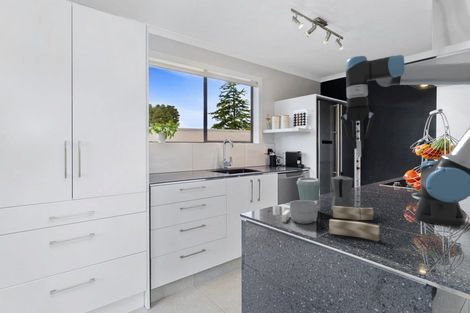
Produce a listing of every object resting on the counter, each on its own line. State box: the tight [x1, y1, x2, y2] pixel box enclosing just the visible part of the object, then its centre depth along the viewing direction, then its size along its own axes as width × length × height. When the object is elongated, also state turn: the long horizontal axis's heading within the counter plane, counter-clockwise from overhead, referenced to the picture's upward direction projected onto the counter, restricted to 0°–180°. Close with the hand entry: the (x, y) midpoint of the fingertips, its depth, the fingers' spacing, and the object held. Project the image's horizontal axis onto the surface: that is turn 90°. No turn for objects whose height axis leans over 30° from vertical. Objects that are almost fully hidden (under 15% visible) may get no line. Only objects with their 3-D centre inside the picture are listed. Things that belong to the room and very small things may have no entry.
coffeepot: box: [330, 171, 354, 212], centre depth 114 cm, size 15×9×18 cm, turn 153°
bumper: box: [281, 209, 291, 223], centre depth 103 cm, size 2×8×3 cm, turn 155°
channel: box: [328, 206, 380, 242], centre depth 93 cm, size 15×26×4 cm, turn 155°
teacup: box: [289, 199, 321, 225], centre depth 100 cm, size 14×11×8 cm
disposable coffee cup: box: [296, 176, 321, 201], centre depth 116 cm, size 11×11×15 cm
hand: (358, 157), depth 100 cm, fingers closed
